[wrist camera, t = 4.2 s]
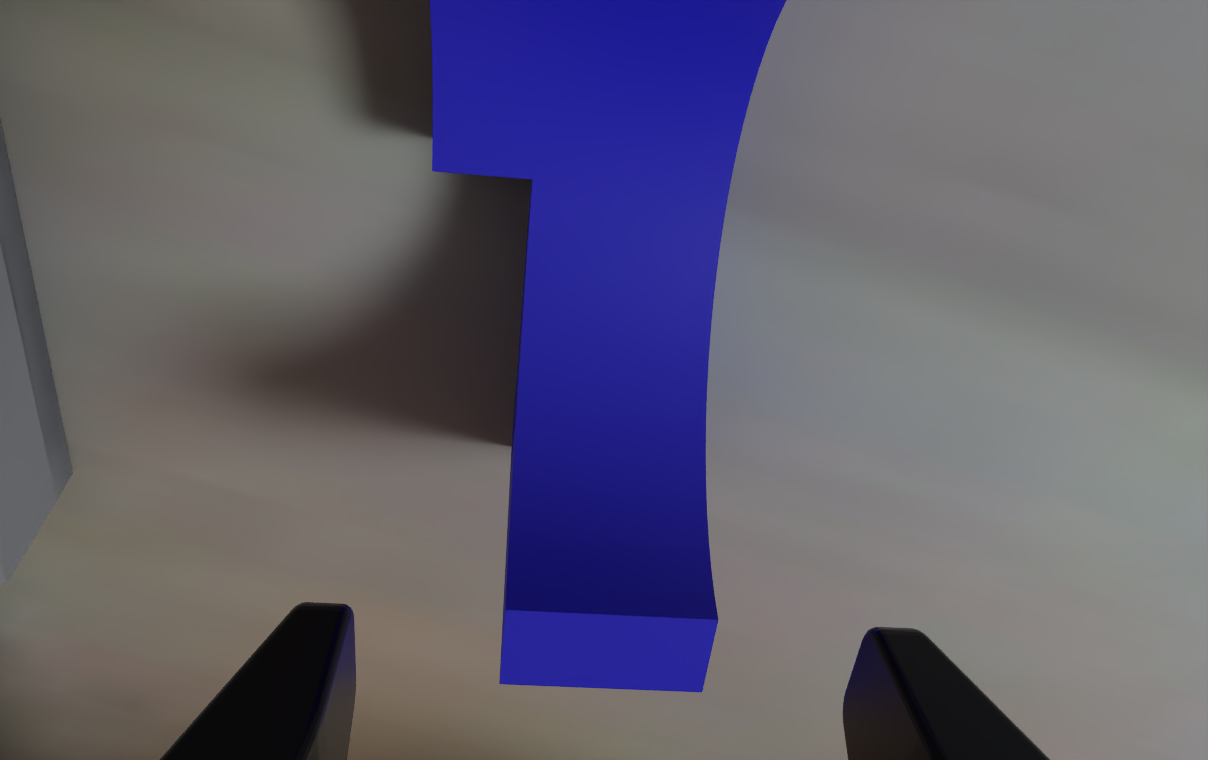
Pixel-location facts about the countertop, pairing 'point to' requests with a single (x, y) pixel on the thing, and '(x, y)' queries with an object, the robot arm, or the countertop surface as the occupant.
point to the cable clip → (606, 310)
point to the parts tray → (24, 395)
